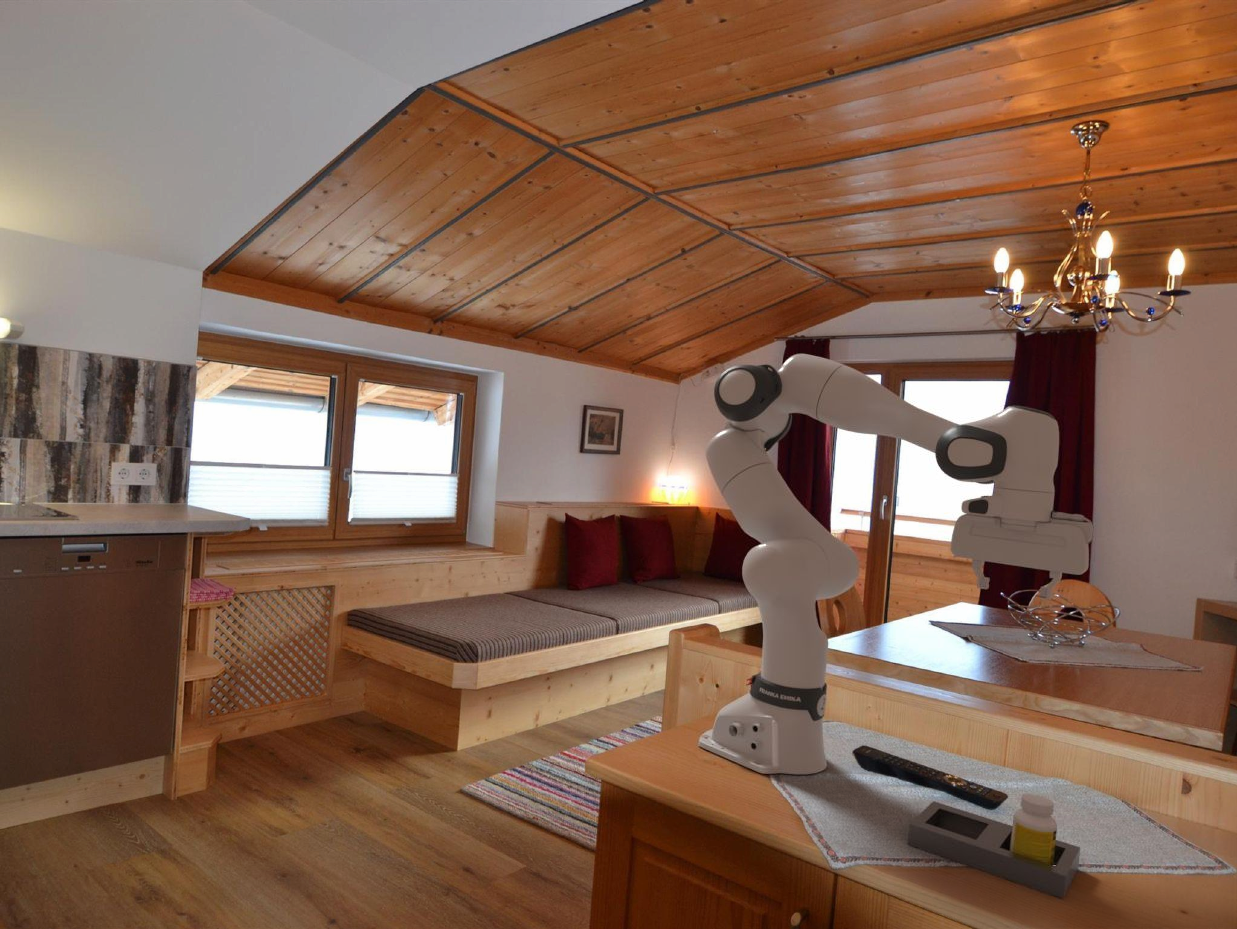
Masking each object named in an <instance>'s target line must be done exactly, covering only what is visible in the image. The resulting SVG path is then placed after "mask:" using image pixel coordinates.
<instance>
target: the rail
mask: <svg viewBox="0 0 1237 929" xmlns="http://www.w3.org/2000/svg"><path fill="white" fill-rule="evenodd" d="M1012 827H1013V825H1010V824H1007V823H1005V822H1001V821H998V820H995V819H991V818H988V817H985V816H983V815H979V814H976V813H972V812H969V811H966V810H964V809H963V810H962V809H959V808H956V807H954V806H950V805H946V804H943V803H940V802H937V801H934V800H933V801H932V802H931V803H930V804H929V805H927V807H926V808H924V809H923V810H922V811H921V812H920V813H919V814H918V815H917V816H916V817H915V818H914V819H913V820H911V822H910V823H909V827H908V835H907V836H908V838H907V846H910V847H914V848H917V849H920V850H922V851H925V852H927V853H930V852H931V853H930V854H933V853H934V855H937V856H939V857H942V856H943V857H942V858H945V859H947V858H948V860H950V859H951V861H954V862H957V863H959V864H962V865H965V866H968V867H970V868H974V869H977V870H979V871H982V872H985V873H987V874H990V875H994V876H996V877H998V878H999V877H1000V878H1002V879H1005V880H1008V881H1011V882H1013V883H1017V884H1019V885H1022V886H1025V887H1028V888H1030V889H1034V890H1037V891H1039V892H1042V893H1045V894H1047V895H1051V896H1054V897H1056V898H1059V899H1062V900H1064V899H1065V897H1066V895H1067V892H1068V890H1069V888H1070V886H1071V885H1072V882H1073V880H1074V878H1075V877H1076V873H1077V872H1078V870H1079V863H1080V855H1081V847H1080V846H1077V845H1073V844H1070V843H1067V842H1064V841H1061V840H1058V839H1056V841H1055V850H1054V860H1053V865H1056V866H1053V865H1050V864H1047V863H1044V862H1041V861H1038V860H1035V859H1032V858H1029V857H1026V856H1023V855H1020V854H1017V853H1014V852H1011V851H1010V844H1011V836H1012Z"/></svg>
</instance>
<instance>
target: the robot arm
mask: <svg viewBox="0 0 1237 929" xmlns="http://www.w3.org/2000/svg"><path fill="white" fill-rule="evenodd" d="M713 395H714V396H713V397H714V402H715V405H716V407H717V409H718V411H719V412H720V413H721V415H722V416H724V418H725V420H727V422H726V424H725V426H724V428H723V429H722V431H720V432H718V433H716V434H715V435H714V436H713V437H712V438H710V440H709V442H708V443H707V445H706V449H705V458H706V461H707V464H708V468H709V469H710V473H711V476H712V478H713V480H714V482H715V484H716V486H717V488H718V491H719V492H720V494H721V496H722V498H723V500H724V501H725V503H726V504H727V506H728V507H729V510H730V511H731V512H732V515H733V516H734V518H735V519H736V522H737V523H738V525H739V526H740V529H742V530H743V532H744V534H747V535H748V536H750V537H751V538H752V539H754V540H756V541H758V542H759V543H760V544H758V545H756V546H754V547H752V548H751V549H750V550H749V551H748V552H747V554H746V556H745V557H744V559H743V564H742V568H741V569H742V570H741V571H742V572H741V574H742V580H743V583H744V585H745V588H746V589H747V591H748V593H749V594H750V595H751V596H752V597H753V599H754V600H755V601H756V603H757V606H758V610H759V614H760V618H761V623H762V633H763V634H762V636H763V637H762V638H763V639H762V652H761V654H762V655H761V666H760V667H761V668H760V670H759V671H758V673H757V674H753V675H751V677H750V678H747V679H746V681H747V682H746V683H745V686H750V689H749V692H747V693H746V694H744V695H742V696H740V697H738V698H736V699H735V700H733V701H731V702H730V703H728V704H726V705H725V706H724V707H722V708H721V709H720V710H719V711H718V713H717V715H716V716H715V719H714V723H713V727H712V728H711V729H709V730H707V731H705V732H703V733H702V734H701V735H700V737H699V740H698V746H699V747H700V748H702V749H704V750H707V751H710V752H711V753H714V754H716V755H718V756H720V757H723V758H725V759H726V760H727V759H728V760H730V761H732V762H734V763H736V764H738V765H741V766H743V767H745V768H748V769H751V770H753V771H755V772H757V773H760V774H767V775H771V774H789V775H810V774H818V773H820V772H822V771H824V770H825V769H826V768H827V767H828V762H827V759H826V752H825V744H824V743H825V742H824V727H823V726H824V725H823V722H824V721H823V719H824V717H825V713H826V709H827V708H826V707H827V697H828V696H827V690H828V688H827V687H828V685H827V683H826V675H827V674H826V673H827V665H828V664H827V662H828V652H829V651H828V649H829V640H828V639H829V638H828V636H827V635H826V633H825V632H824V631H823V630H822V629H821V628H820V625H819V622H818V617H817V610H816V602H817V601H819V600H827V599H828V600H829V599H832V598H836V597H837V596H840V595H841V594H844V593H845V592H847V591H849V590H850V589H852V588H853V587H854V585H855V584H856V582H857V580H858V578H859V575H860V561H859V557H858V554H856V552H855V550H854V549H853V547H851V546H850V545H849V544H847V543H845V542H844V541H842V540H840V539H839V538H838V537H836V536H835V535H833V534H832V533H831V532H830V531H829V530H827V528H826V527H824V526H823V525H822V524H821V522H819V521H818V519H817V518H815V517H814V516H813V515H812V514H811V513H810V512H809V511H808V510H807V508H805V507H804V505H803V504H801V502H800V501H799V500H798V499H797V497H796V496H795V495H794V493H793V492H792V490H791V489H790V488H789V486H788V484H787V483H786V481H785V480H784V478H783V477H782V475H781V473H780V472H779V471H778V469H777V467H776V465H775V464H774V462H773V461H772V459H771V457H770V456H769V455H768V453H767V452H769V451H770V450H771V449H772V448H773V446H774V445H776V444H777V443H779V442H780V441H781V440H782V439H783V438H784V437H785V436H786V435H787V434H788V432H789V431H790V429H791V426H792V421H793V415H792V414H801V415H802V414H803V415H806V416H809V417H811V418H812V419H814V420H817V421H819V422H820V423H823V424H826V426H827V425H828V426H830V427H833V428H836V429H839V430H843V431H847V432H851V433H857V434H862V435H863V434H864V435H877V436H884V437H890V438H896V439H899V440H902V441H904V442H908V443H909V444H913V445H915V446H917V447H920V448H921V449H924V450H926V451H929V452H932V453H934V455H935V459H936V463H937V465H938V467H939V469H940V470H941V471H942V472H943V473H944V474H945V475H946V476H948V477H950V478H952V479H953V480H956V481H959V482H964V483H977V484H980V485H991V484H994V486H993V493H992V494H991V495H982V496H980V497H976V498H970V499H965V500H964V501H962V503H961V512H962V513H964V514H962V515H959V517H958V518H957V519H956V521H955V523H954V527H953V531H952V535H951V541H950V546H949V547H950V548H949V549H950V552H951V554H952V555H953V556H954V557H956V558H962V559H969V560H972V561H971V567H972V570H973V572H974V574H975V576H976V578H977V582H976V588H977V589H981V590H982V589H983V590H988V589H989V587H990V584H989V582H990V580H991V578H990V577H986V576H985V575H984V572H983V570H982V567H984V565H985V562H988V563H989V562H990V563H996V564H1003V565H1009V566H1015V567H1016V566H1017V567H1023V568H1029V569H1035V570H1044V571H1049V579H1052V580H1051V581H1050V582H1049V583H1048V585H1047V586H1043V585H1042V586H1041V587H1040V589H1039V592H1040V594H1039V599H1041V600H1042V599H1043V600H1049V601H1050V600H1052V597H1053V596H1052V595H1053V589H1054V588H1055V587H1056V585H1057V584H1059V582H1060V581H1061V579H1062V578H1063V577H1062V576H1063V574H1070V575H1077V576H1078V575H1083V574H1084V573H1085V572H1087V571H1088V569H1089V566H1090V563H1089V562H1090V561H1089V560H1090V558H1089V557H1090V553H1089V552H1090V548H1089V544H1090V543H1091V541H1092V540H1093V537H1094V529H1095V528H1094V524H1093V522H1092V521H1091V520H1090V519H1088V518H1087V517H1085V516H1084V515H1082V514H1078V513H1074V514H1073V513H1067V512H1066V513H1065V512H1061V511H1060V512H1059V511H1054V500H1055V492H1056V491H1055V485H1054V476H1055V472H1056V469H1057V467H1058V462H1059V453H1060V452H1059V449H1060V448H1059V447H1060V430H1059V429H1060V428H1059V425H1058V421H1057V420H1056V418H1055V417H1054V416H1053V415H1052V414H1050V413H1049V412H1047V411H1044V410H1039V409H1036V408H1033V407H1027V406H1021V405H1009V406H1007V407H1005V409H1003V410H1001V411H1000V412H998V413H996V414H995V413H994V414H993V415H991V416H989V417H985V418H982V419H980V420H976V421H970V422H968V423H967V422H966V423H963V424H962V423H961V424H958V423H956V422H953V421H951V420H949V419H945V418H943V417H941V416H938V415H936V414H934V413H931V412H929V411H926V410H924V409H922V408H919V407H917V406H915V405H913V404H911V403H909V402H908V401H907V400H904V399H903V398H902V397H900V396H899V395H897V394H895V393H894V392H892V391H891V390H890V389H889V388H887V387H885V386H883V385H882V384H881V383H879V382H878V381H876V380H875V379H874V378H871V377H870V376H868V375H866V374H865V373H863V372H861V371H859V370H857V369H855V368H853V367H851V366H849V365H845V364H843V363H841V362H838V361H834V360H832V359H830V358H825V357H822V356H816V355H812V354H807V353H796V354H793V355H791V356H789V357H788V358H787V359H786V360H785V361H784V363H783V364H781V366H780V368H779V369H778V370H777V369H776V368H775V367H773V365H770V364H768V363H767V364H759V365H755V364H739V365H738V364H737V365H734V366H731V367H729V368H727V369H726V370H724V371H723V372H722V373H721V374H720V375H719V376H718V378H717V380H716V382H715V383H714V388H713ZM1084 521H1085V522H1084Z"/></svg>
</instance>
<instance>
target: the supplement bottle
mask: <svg viewBox="0 0 1237 929" xmlns="http://www.w3.org/2000/svg"><path fill="white" fill-rule="evenodd" d="M1020 800H1021V801H1020V807H1021V808H1019V809H1017V810H1016V811H1015V812H1014V814H1013V819H1012V826H1013V827H1012V836H1011V844H1010V851H1011V852H1014V853H1017V854H1020V855H1023V856H1026V857H1029V858H1032V859H1035V860H1038V861H1041V862H1044V863H1047V864H1050V865H1053V860H1054V850H1055V841H1056V840H1057V832H1058V831H1057V830H1058V823H1057V821H1056V820H1055V818H1054V817H1053V816H1052V815H1053V813H1054V807H1055V804H1054V802H1053V800H1052V799H1050V798H1048V797H1046V796H1043V795H1039V794H1036V793H1024V794H1022V795H1021V799H1020Z"/></svg>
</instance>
